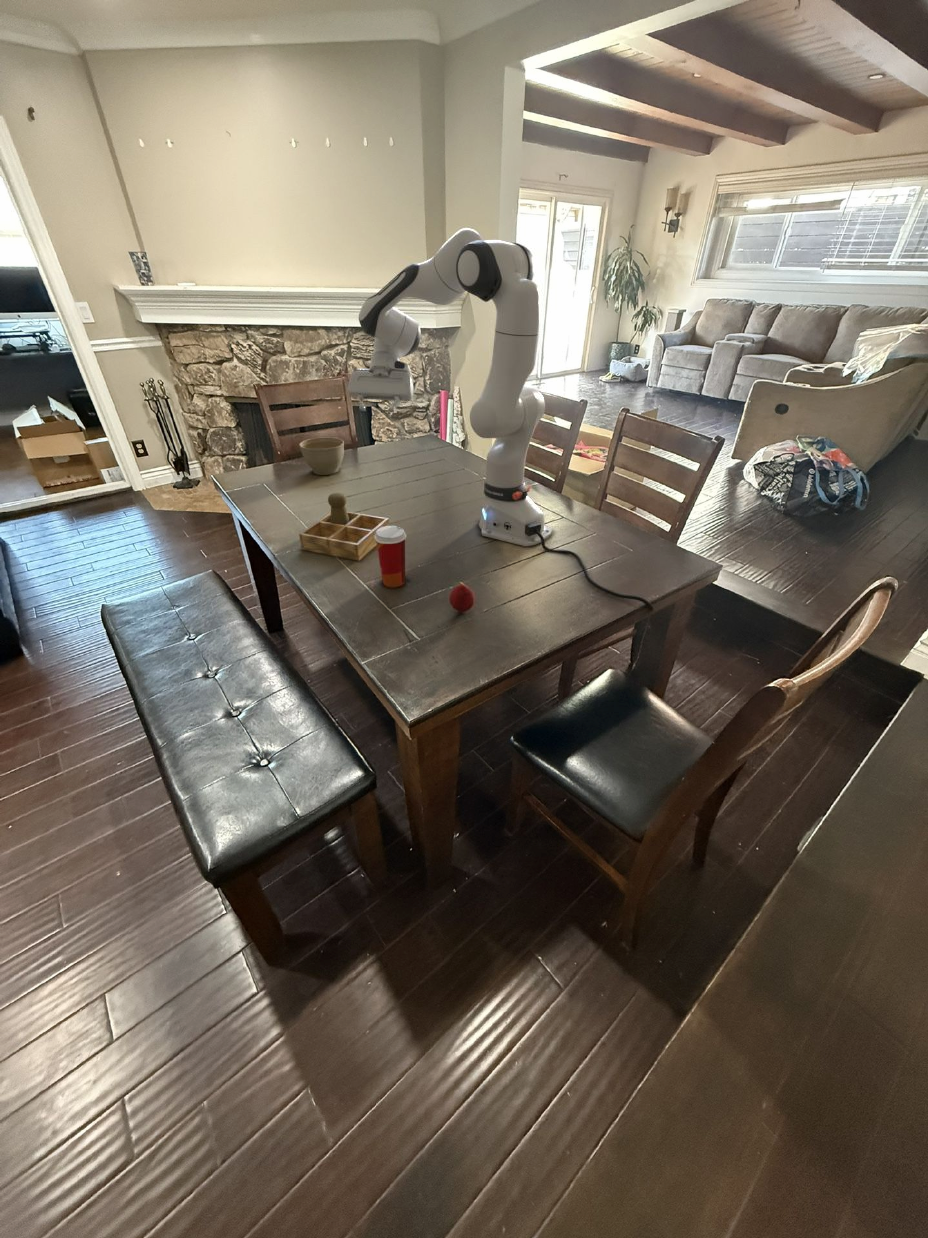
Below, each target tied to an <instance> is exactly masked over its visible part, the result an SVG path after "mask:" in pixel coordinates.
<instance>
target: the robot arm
mask: <svg viewBox="0 0 928 1238" xmlns="http://www.w3.org/2000/svg"><path fill="white" fill-rule="evenodd" d="M535 266H536V265H535V259H534V256H533V254H532V252H531V251H530V250H529V249H528V248H527V246H525V245H523V244H521V243H517V242H508V241H503V240H500V239H488V240H484V238H483V237H482V236H481V234H480V233H479V232H478V231H476V230H475V229H472V228H469V227H464V228H461V229H460V230H458V231H457V232H455V233H454V234H453V235H452V236H451V237H450V238H449V239H448V240H447V241H446V242H445V243H444V244H443V245H442V246H441V247H439V249H438V251H437V252H436V253H435V254H434V256H432V257H431V258H430V259H428V260H426V261H423V262H420V263H411V264H409V265H408V266H406V267H405V268H403V269H402V270H401V271H399V272H398V273H397V274H396V275H395V276H394V277H393V278H392V279H391V280H390V281H389V282H388V283H387V284H386V285H384V286H383V287H382V288H381V289H380V290H379V291H378V292H376V293H375V294H374V295H372V296H369V297H368V298H367V299H366V300H365V301H364V302H363V304H362V306H361V308H360V310H359V313H358V321H359V324H360V327H361V329H362V331H363V333H364V334H366V335H368V336H370V337H373V338H374V341H373V352H372V354H371V357H370V363H369V368H356V369H355V370H352V371H351V373H350V378H349V382H348V385H347V388H346V389H347V393H348V395H349V396H350V397H351V398H352V399H357V400H358V403H359V407H358V408H359V410H360V412H366V411H367V410H366V409H367V405H366V403H365V402H364V401H365V400H376V401H377V400H378V401H393V403H391V404H389V407H388V410H389V411H388V412H389V413H392V414H393V413H395V414H396V410H397V408H398V407H399V405H400V404H401V402H410V401H412V399H413V398H414V382H413V379H414V377H413V373H412V370H411V368H410V365H409V364H408V363H406V362H404V361H400V360H401V359H402V358H405V357H407V356H410V355H411V354H414V353H415V352H416V351H417V350H418V348H419V345H420V342H421V338H422V331H421V326H420V324H419V322H418V321H417V320H415V319H414V318H412V317H410V316H409V315H407V314H405V312H402V311H401V310H399V309H398V308H396V307H395V306H396V305H397V304H398V303H399V302H401V301H402V300H405V299H407V298H413V299H418V300H423V301H425V302H428V303H431V304H434V305H437V306H448V305H451V304H453V303H455V302H456V301H457V300H459V299H460V298H461V297H462V296H463V295H464V293H465V292H467V293H469V294H471V295H472V296H475V297H477V298H479V299H480V300H481V301H483V302H485V303H487V302H489V301H491V300H492V302H493V304H494V306H495V310H496V312H495V313H496V316H495V327H494V338H493V348H492V355H491V356H492V358H491V364H490V368H489V372H488V375H487V379H486V381H485V384H484V387H483V388H482V391H481V393H480V395H479V397H478V398H477V400H476V401H475V402H474V403H473V405H472V406H471V408H470V410H469V411H470V412H469V424H470V427H471V428H472V430H473V432H474V433H475V434H476V436H477V437H479V438H482V439H494V442H493V444H492V445H491V447H490V448H489V450H488V452H487V453H486V464H485V465H486V467H485V468H486V470H485V480H484V485H483V494H484V501H483V508H482V513H481V518H480V520H479V523H478V527H479V529H480V530H481V533H480V534H481V536H483V537H486V538H490V539H495V540H499V541H503V542H506V543H511V544H515V545H518V546H523V547H530V546H535V545H538V544H541V547H542V549H543V550H545V551H546V552H549V553H557V554H566V555H570V556H573V557H574V558H575V559H576V560H577V562H578V564H579V566H580V568H581V569H582V571H583V573H584V576H585V578H586V580H587V582H589V583H590V585H592V586H593V587H595V588H596V589H598V590H600V591H602V592H604V593H606V594H609V595H611V596H613V597H616V598H619V599H621V598H622V599H626V600H627V599H628V600H635V601H639V602H641V603H643V604H644V605H645V606H647V608H648V609H649V610H652V611H653V610H654V607H653V605H652V604H651V602H649V601H648V600H647V599H645V598H644V597H641V596H638V595H634V594H633V595H632V594H623V593H619V592H616V591H615V590H614V591H613V590H612V589H609V588H606V587H604V586H602V585H599V584H598V583H596V582H595V580H593V579H592V578H591V576H590V574H589V571H588V569H587V567H586V566H585V564H584V562H583V559H581V557H580V556H579V554H577V553H576V552H574V551H571V550H564V549H551V548H549V547H548V546H546V543H545V542H546V540H547V539H549V537H550V536H551V535H552V528H551V527H549V526H547V525H545V515H544V512H543V511H542V510H541V509H540V507H538V506H537V504H536V503H535V502H534V501H533V499H531V498H530V497H529V494H528V493H529V492H531V489H532V487H531V486H529V487H527V486H526V482H525V480H524V479H525V471H526V470H525V469H526V461H527V455H528V451H529V447H530V444H531V441H532V438H533V435H534V432H535V430H536V428H537V426H538V424H539V422H540V421H541V420H542V418H543V417H544V414H545V411H546V402H545V399H544V396H543V395H542V393H541V391H539V389H536V388H533V387H527V386H525V384H526V382H527V380H528V378H529V376H531V374H532V373H533V371H534V369H535V367H536V360H537V354H538V353H537V352H538V345H539V338H540V329H541V318H542V317H541V315H542V301H541V299H542V298H541V291H540V288H539V286H538V285H537V283H535V282H534V281H533V278H534V276H535V271H536V270H535V269H536V267H535Z"/></svg>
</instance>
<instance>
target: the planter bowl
mask: <svg viewBox="0 0 928 1238" xmlns="http://www.w3.org/2000/svg"><path fill="white" fill-rule="evenodd" d="M344 447H345V441H344V440H343V439H341V438H338V437H328V436H327V437H326V436H325V437H323V436H322V437H313V438H308V439H305V440H302V441H301V442H299V448H300V450H301V455H302V457H303V459H304V461H305V463H306V464H307V465H308V467H309V468H311V470H312V472H313V474H316V475H317V476H319V475H320V476H328V475H333V474H336V473H337V472H339V469H340V468H339V467H340V466H341V465H342V463H343V459H344V456H345V455H344V454H345V448H344Z"/></svg>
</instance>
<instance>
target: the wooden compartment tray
mask: <svg viewBox="0 0 928 1238" xmlns="http://www.w3.org/2000/svg"><path fill="white" fill-rule="evenodd" d="M347 513H348V517H349V520H350V522H348V523H347V524H346V525H340V524H334V523H331V511H330V512H329V513H328V514H326V515H325V516H323V517H322V518H320V519H319V520H317V521H316V522H314V523H313V524H311V525H310V526H309V527H307V528H306V529H303V530H302V531H301V532H300V533H299V534H298V537H299V542H300V546H301V551H302V550H303V551H308V552H311V553H318V554H322V555H327V556H328V555H329V556H333V557H337V558H338V557H339V558H343V559H349V560H355V561H359V562H360V561H361V560H362V559H363V558H364V557H365V556H366V555H367V554H369V553H370V552H371V551H372V550H373V549H375V547H377V543H376V540H375V539H374V536H375V534H376V531H377V530H378V529H379V528H381V527H385V526H390V518H389V517H382V516H377V515H370V514H366V513H365V514H364V513H359V512H352V511H347Z"/></svg>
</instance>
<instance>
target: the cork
mask: <svg viewBox="0 0 928 1238" xmlns="http://www.w3.org/2000/svg"><path fill="white" fill-rule="evenodd" d="M327 502H328V505H329V506H330V512H331V523H334V524H340V525H346V524H347V523H348V522H350V520H349V517H348V513H347V512H348V510H347V507H346V504H347V496H346V495H345V494H344V493H342V492H332V493H331V494H329V495H328V497H327Z"/></svg>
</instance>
